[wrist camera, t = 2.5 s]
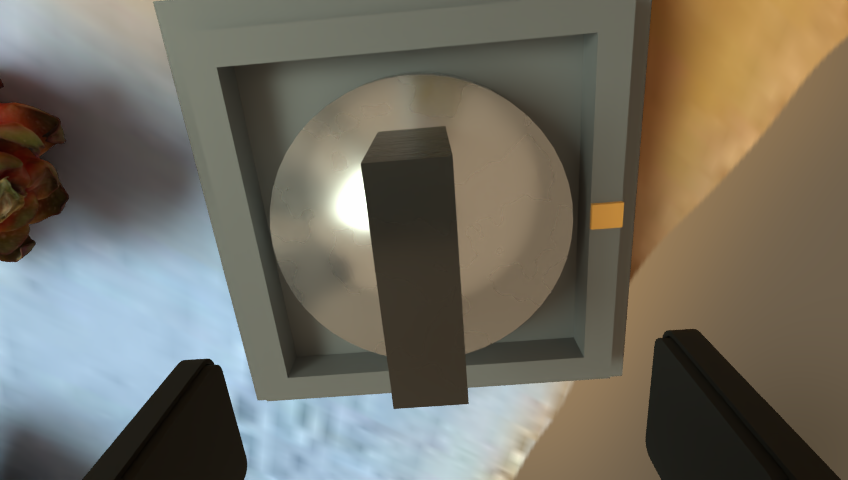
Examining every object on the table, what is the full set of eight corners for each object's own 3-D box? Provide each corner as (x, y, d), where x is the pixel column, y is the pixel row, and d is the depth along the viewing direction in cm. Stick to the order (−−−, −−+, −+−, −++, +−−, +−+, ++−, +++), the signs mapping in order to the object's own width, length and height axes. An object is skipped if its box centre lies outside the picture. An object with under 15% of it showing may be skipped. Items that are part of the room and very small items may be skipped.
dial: (257, 85, 19) (168, 107, 12) (562, 58, 18) (638, 66, 12) (309, 342, 23) (263, 460, 16) (557, 324, 23) (610, 438, 16)
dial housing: (173, 4, 19) (124, -4, 16) (638, -40, 18) (680, -58, 15) (266, 380, 26) (245, 426, 23) (611, 357, 25) (636, 400, 22)
